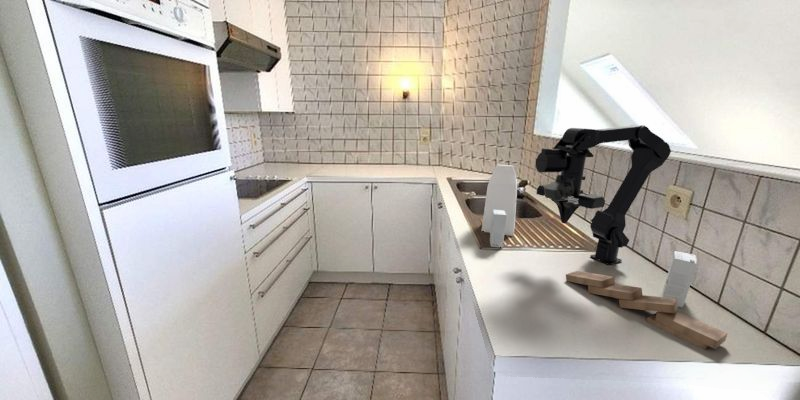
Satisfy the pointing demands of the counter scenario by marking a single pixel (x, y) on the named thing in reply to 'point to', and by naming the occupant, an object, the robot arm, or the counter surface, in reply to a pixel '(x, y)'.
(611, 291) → the domino
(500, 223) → the skincare box
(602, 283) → the domino
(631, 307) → the domino
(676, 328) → the domino
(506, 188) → the milk
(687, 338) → the domino
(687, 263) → the skincare box
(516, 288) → the counter surface
